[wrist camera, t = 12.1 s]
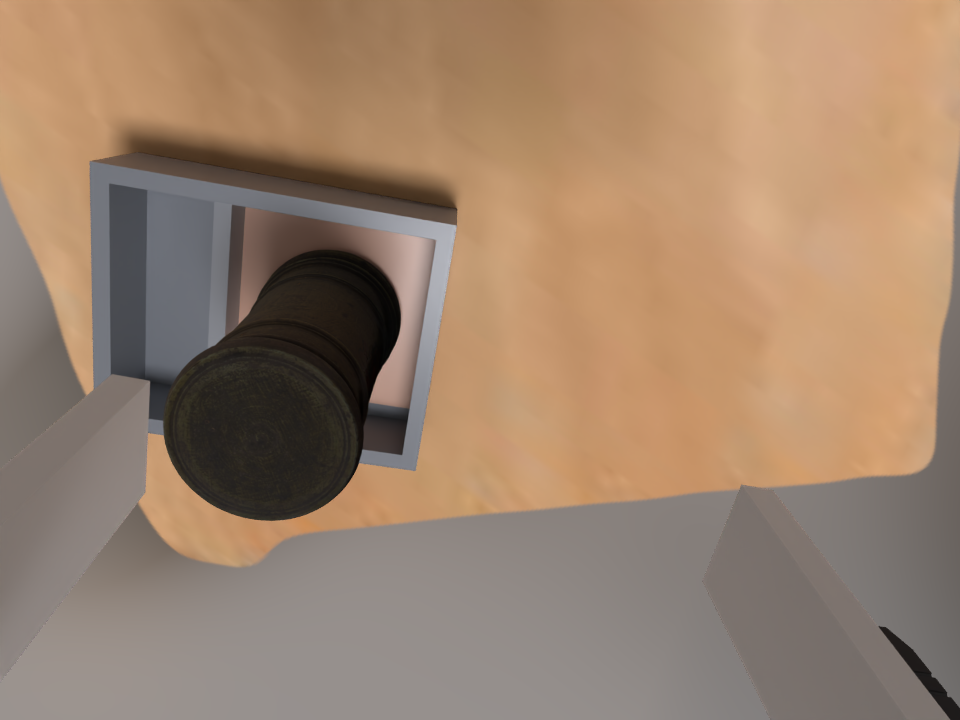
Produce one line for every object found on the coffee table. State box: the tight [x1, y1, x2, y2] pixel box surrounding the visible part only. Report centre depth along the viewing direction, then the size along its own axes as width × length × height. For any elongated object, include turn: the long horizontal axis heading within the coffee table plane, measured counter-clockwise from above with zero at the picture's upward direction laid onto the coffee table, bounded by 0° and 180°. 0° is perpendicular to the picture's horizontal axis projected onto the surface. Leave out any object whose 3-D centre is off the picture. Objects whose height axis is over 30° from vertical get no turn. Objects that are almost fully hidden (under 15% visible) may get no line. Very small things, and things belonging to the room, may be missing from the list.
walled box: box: [90, 152, 457, 471], centre depth 44 cm, size 16×20×6 cm
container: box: [163, 250, 401, 521], centre depth 37 cm, size 9×9×18 cm
